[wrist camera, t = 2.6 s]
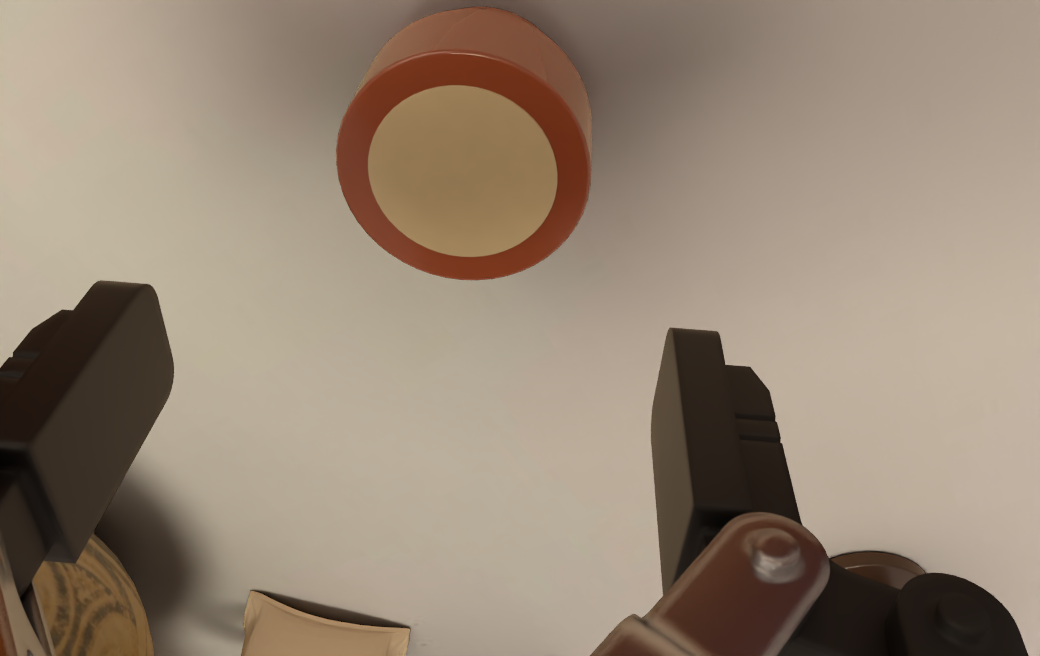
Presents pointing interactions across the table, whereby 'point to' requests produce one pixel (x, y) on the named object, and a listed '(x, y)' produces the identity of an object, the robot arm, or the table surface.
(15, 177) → the table surface
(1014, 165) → the table surface
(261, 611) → the decorative ornament
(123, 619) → the ceramic bowl
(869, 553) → the walnut post
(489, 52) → the terracotta bowl
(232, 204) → the table surface
